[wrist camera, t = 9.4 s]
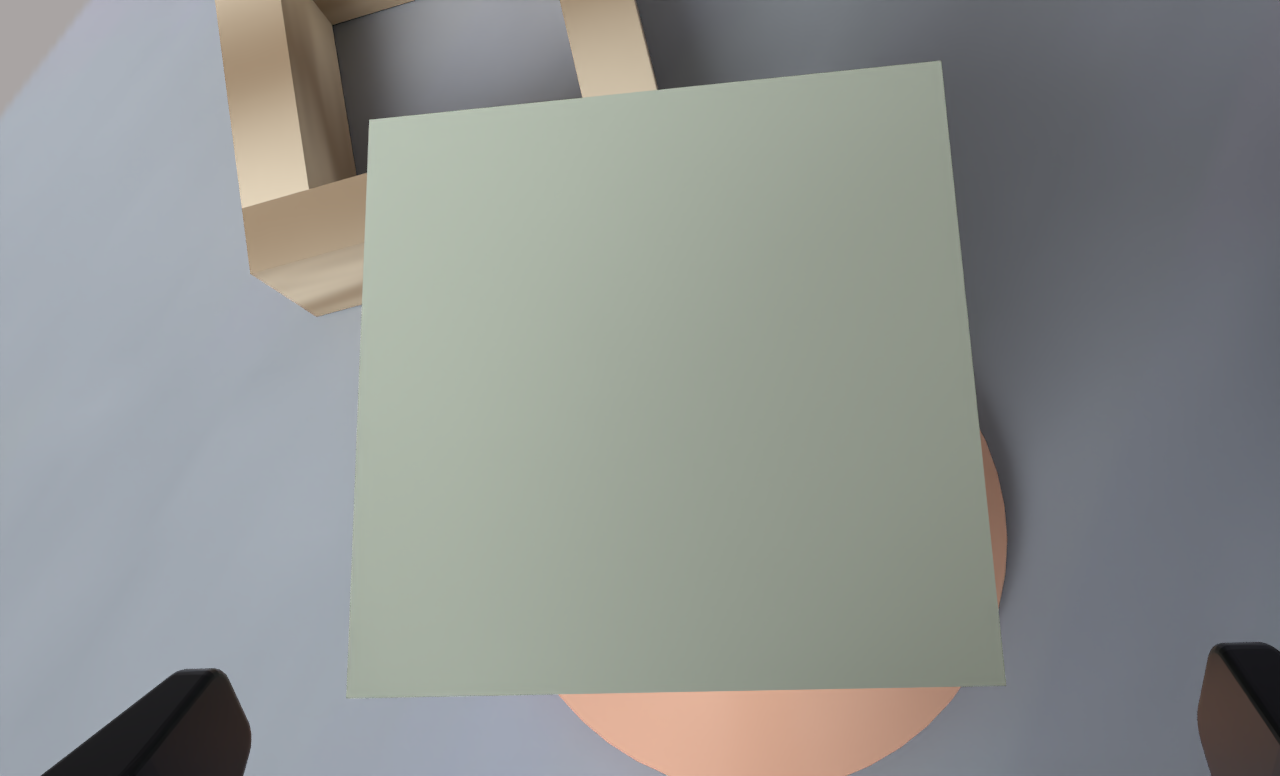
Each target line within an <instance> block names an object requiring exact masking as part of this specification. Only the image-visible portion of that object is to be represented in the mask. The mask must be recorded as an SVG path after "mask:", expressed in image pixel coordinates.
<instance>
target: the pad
mask: <svg viewBox="0 0 1280 776" xmlns="http://www.w3.org/2000/svg"><path fill="white" fill-rule="evenodd" d="M980 439H981V448H982V458H983V468H984V477H985V487H986V497H987V506H988V516H989V525H990V535H991V545H992V554H993V564H994V573H995V583H996V593H997V602H998V609H999V604H1000V599H1001V594H1002V589H1003V583H1004V578H1005V571H1006V553H1007V531H1006V518H1005V506H1004V501H1003V497H1002V492H1001V487H1000V483H999V478H998V473H997V471H996V468H995V465H994V462H993V459H992V457H991V454H990V451H989V448H988V446H987V443H986V440H985V439H984V437H983V435H982V433H981V431H980ZM960 688H961V687H918V688H865V689H813V690H761V691H708V692H656V693H603V694H559V696H560V697H561V698H562V699H563V700H564V701H565V702H566V704H567V705H568V706H569V707H570V708H571V709H572V710H573V711H574V712H575V713H576V715H577V716H578V717H579V718H580V719H581V720H582V721H583V722H584V723H585V724H587V725H588V726H589V727H590V728H591V729H592V730H594V731H595V732H596V733H597V734H598V735H600V736H601V737H602V738H603V739H604V740H605V741H607V742H608V743H609V744H611V745H613V746H614V747H616V748H617V749H619V750H620V751H622V752H623V753H625V754H627V755H628V756H630V757H631V758H633V759H634V760H636V761H638V762H640V763H642V764H644V765H647V766H649V767H651V768H653V769H655V770H657V771H659V772H662V773H664V774H666V775H668V776H847V775H849V774H851V773H854V772H856V771H859V770H861V769H863V768H866V767H868V766H870V765H872V764H874V763H875V762H877V761H879V760H881V759H882V758H884V757H886V756H887V755H889V754H891V753H892V752H894V751H896V750H897V749H899V748H901V747H902V746H903V745H904V744H906V743H907V742H908V741H909V740H911V739H912V738H913V737H914V736H916V735H917V734H918V733H919V732H921V731H922V730H923V729H924V728H926V727H927V726H928V725H929V724H930V723H931V722H932V721H933V720H934V718H935V717H936V716H937V715H938V714H939V713H940V712H941V711H942V710H943V709H944V708H945V707H946V706H947V705H948V704H949V703H950V701H951V700H952V699H953V697H954V696H955V695H956V693H957V692H958V690H959V689H960Z"/></svg>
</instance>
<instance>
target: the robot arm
mask: <svg viewBox="0 0 1280 776" xmlns="http://www.w3.org/2000/svg"><path fill="white" fill-rule="evenodd" d="M1197 721H1198V730H1199V735H1200V739H1201V743H1202V746H1203V750H1204V753H1205V756H1206V760H1207V763H1208V766H1209V770H1210V773H1211V776H1280V651H1278V650H1277V649H1275V648H1274V647H1272V646H1270V645H1268V644H1266V643H1262V642H1240V643H1220V644H1217V645H1215V646H1214V647H1213V648H1212V649H1211V651H1210V653H1209V656H1208V660H1207V665H1206V670H1205V675H1204V680H1203V685H1202V690H1201V695H1200V700H1199V705H1198V711H1197ZM250 748H251V730H250V725H249V722H248V720H247V718H246V716H245V713H244V711H243V709H242V707H241V705H240V702H239V700H238V698H237V696H236V694H235V692H234V689H233V687H232V685H231V683H230V681H229V679H228V677H227V675H226V674H225V673H223V672H222V671H221V670H219V669H215V668H209V669H184V670H180V671H177V672H175V673H174V674H172V675H171V676H169V677H168V678H167V679H166V680H164V681H163V682H162V683H160V684H159V685H158V686H156V687H155V688H154V689H153V690H151V691H150V692H149V693H147V694H146V695H145V696H143V697H142V698H141V699H140V700H138V701H137V702H136V703H134V704H133V705H132V706H131V707H129V708H128V709H127V710H125V711H124V712H123V713H121V714H120V715H119V716H118V717H116V718H115V719H114V720H112V721H111V722H110V723H108V724H107V725H106V726H105V727H103V728H102V729H101V730H99V731H98V732H97V733H96V734H94V735H93V736H92V737H90V738H89V739H88V740H86V741H85V742H84V743H83V744H81V745H80V746H79V747H77V748H76V749H75V750H73V751H72V752H71V753H70V754H68V755H67V756H66V757H64V758H63V759H62V760H61V761H59V762H58V763H57V764H55V765H54V766H53V767H51V768H50V769H49V770H48V771H46V772H45V773H44V774H42V775H41V776H243V775H244V771H245V768H246V764H247V760H248V757H249V753H250Z"/></svg>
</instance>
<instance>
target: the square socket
mask: <svg viewBox="0 0 1280 776" xmlns="http://www.w3.org/2000/svg"><path fill="white" fill-rule="evenodd" d="M411 1H414V0H215V4H216V11H217V19H218V27H219V35H220V42H221V50H222V58H223V65H224V73H225V81H226V89H227V96H228V104H229V112H230V119H231V127H232V135H233V143H234V150H235V158H236V166H237V174H238V181H239V189H240V197H241V204H242V212H243V220H244V228H245V235H246V243H247V251H248V259H249V266H250V274H252V275H253V276H255V277H256V278H258V279H259V280H261V281H262V282H264V283H265V284H267V285H269V286H270V287H272V288H273V289H275V290H276V291H278V292H279V293H281V294H282V295H284V296H285V297H287V298H288V299H290V300H291V301H293V302H295V303H296V304H298V305H299V306H301V307H302V308H304V309H305V310H307V311H308V312H310V313H311V314H313V315H314V316H316V317H318V316H321V315H325V314H329V313H332V312H336V311H340V310H343V309H347V308H351V307H354V306H358V305H362V289H363V264H364V239H365V214H366V188H367V173H364V174H361V175H356V169H355V163H354V157H353V150H352V144H351V138H350V132H349V126H348V120H347V114H346V107H345V101H344V95H343V89H342V83H341V77H340V70H339V64H338V58H337V52H336V46H335V40H334V34H333V27H332V25H334V24H337V23H341V22H344V21H347V20H351V19H354V18H357V17H361V16H364V15H367V14H371V13H374V12H377V11H381V10H384V9H387V8H391V7H394V6H397V5H401V4H404V3H407V2H411ZM560 3H561V7H562V12H563V16H564V20H565V25H566V29H567V33H568V38H569V42H570V46H571V51H572V55H573V59H574V64H575V68H576V72H577V77H578V81H579V85H580V90H581V94H582V98H584V97H594V96H603V95H613V94H623V93H632V92H642V91H652V90H658V86H657V82H656V78H655V74H654V70H653V66H652V62H651V58H650V54H649V50H648V46H647V42H646V38H645V34H644V30H643V27H642V23H641V19H640V15H639V11H638V7H637V3H636V0H560Z"/></svg>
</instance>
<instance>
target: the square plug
mask: <svg viewBox="0 0 1280 776" xmlns="http://www.w3.org/2000/svg"><path fill="white" fill-rule="evenodd" d="M970 686H1006V679H1005V670H1004V660H1003V650H1002V641H1001V631H1000V621H999V612H998V602H997V593H996V583H995V573H994V564H993V554H992V545H991V535H990V525H989V516H988V506H987V497H986V487H985V477H984V468H983V458H982V448H981V439H980V429H979V420H978V410H977V400H976V391H975V381H974V372H973V362H972V352H971V343H970V333H969V323H968V314H967V304H966V295H965V285H964V275H963V266H962V256H961V247H960V237H959V227H958V218H957V208H956V199H955V189H954V179H953V170H952V160H951V150H950V141H949V131H948V122H947V112H946V102H945V93H944V83H943V74H942V64H941V61H932V62H922V63H913V64H903V65H893V66H884V67H874V68H864V69H855V70H845V71H835V72H826V73H816V74H806V75H797V76H787V77H777V78H768V79H758V80H748V81H739V82H729V83H719V84H710V85H700V86H690V87H681V88H671V89H661V90H652V91H642V92H632V93H623V94H613V95H603V96H594V97H584V98H574V99H565V100H555V101H546V102H536V103H526V104H517V105H507V106H497V107H488V108H478V109H468V110H459V111H449V112H439V113H430V114H420V115H410V116H401V117H391V118H381V119H372V120H369V138H368V163H367V188H366V214H365V239H364V264H363V289H362V315H361V340H360V365H359V390H358V416H357V441H356V466H355V491H354V516H353V542H352V567H351V592H350V617H349V643H348V668H347V693H346V698H394V697H446V696H498V695H551V694H603V693H656V692H708V691H761V690H813V689H865V688H918V687H970Z"/></svg>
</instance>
